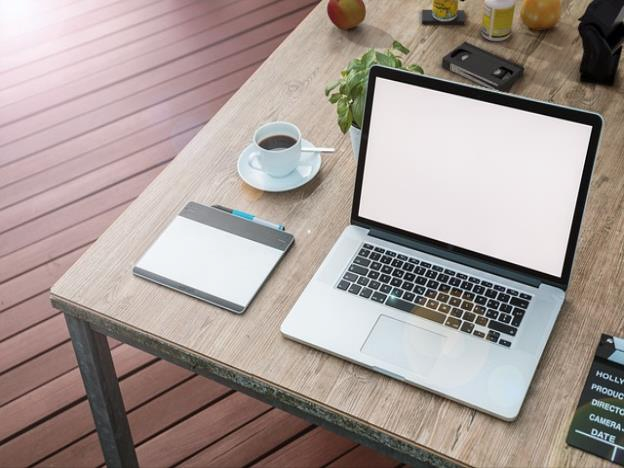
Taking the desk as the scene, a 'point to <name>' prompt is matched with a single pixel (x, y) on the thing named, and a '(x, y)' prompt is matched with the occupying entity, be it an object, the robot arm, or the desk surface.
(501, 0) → the pill bottle
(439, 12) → the supplement bottle
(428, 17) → the scrub mat
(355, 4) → the apple
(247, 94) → the desk surface
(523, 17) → the fruit
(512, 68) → the vhs tape
